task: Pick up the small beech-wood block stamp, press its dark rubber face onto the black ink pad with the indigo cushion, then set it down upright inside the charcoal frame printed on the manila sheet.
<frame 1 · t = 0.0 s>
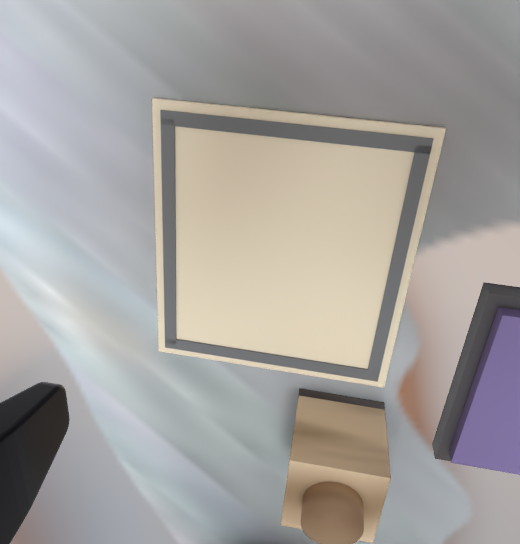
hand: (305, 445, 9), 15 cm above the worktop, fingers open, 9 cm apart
stamp: (335, 426, 28), on the worktop
print sheet: (280, 254, 23), on the worktop
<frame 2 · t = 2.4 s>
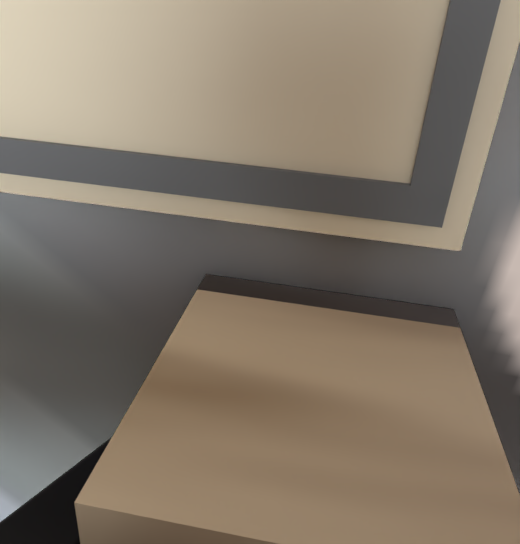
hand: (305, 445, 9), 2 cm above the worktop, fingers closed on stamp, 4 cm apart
stamp: (311, 387, 10), on the worktop, touching gripper
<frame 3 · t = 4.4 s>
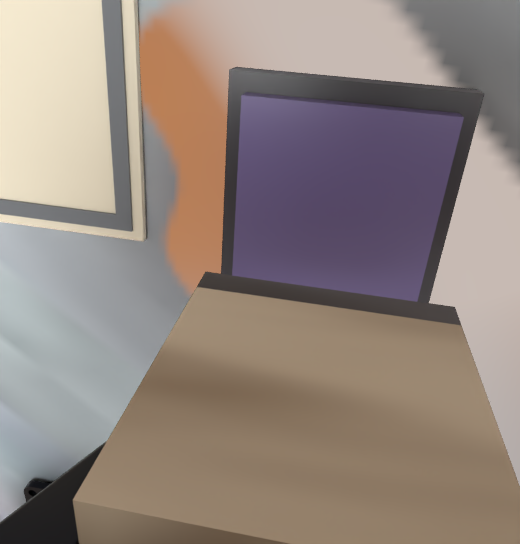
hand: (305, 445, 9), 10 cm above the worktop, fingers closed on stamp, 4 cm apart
ink pad: (331, 225, 18), on the worktop
stamp: (311, 386, 10), point 9 cm above the worktop, touching gripper
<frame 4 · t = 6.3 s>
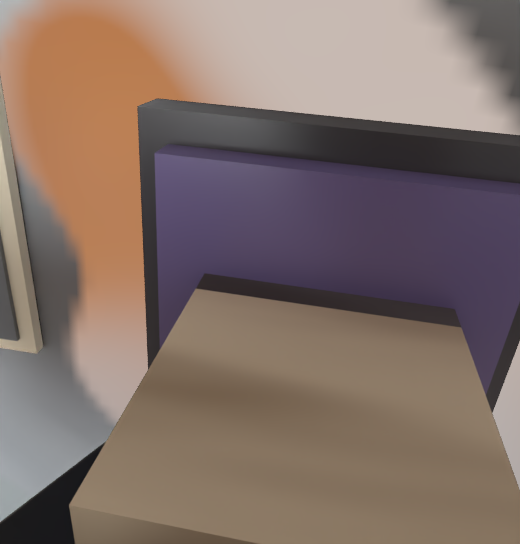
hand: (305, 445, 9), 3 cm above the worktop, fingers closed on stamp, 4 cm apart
ink pad: (318, 340, 11), on the worktop
stamp: (311, 387, 10), point 2 cm above the worktop, touching gripper, ink pad
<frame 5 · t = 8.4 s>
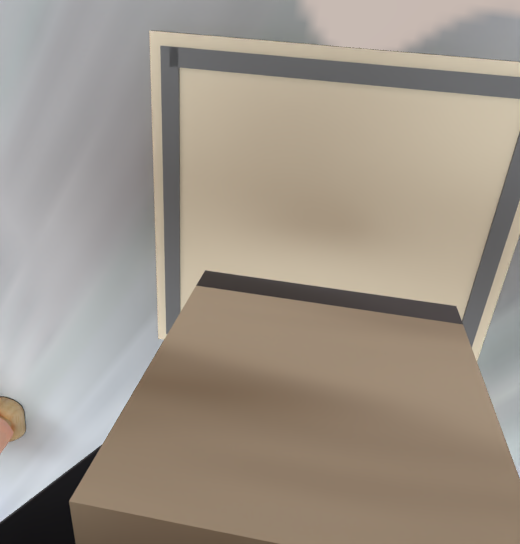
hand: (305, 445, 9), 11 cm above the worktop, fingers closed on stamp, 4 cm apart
stamp: (312, 385, 10), point 9 cm above the worktop, touching gripper
print sheet: (327, 226, 18), on the worktop
when the fingers open (3 cm above the worktop, at t = 10.1 s): stamp drops 1 cm, resting on print sheet.
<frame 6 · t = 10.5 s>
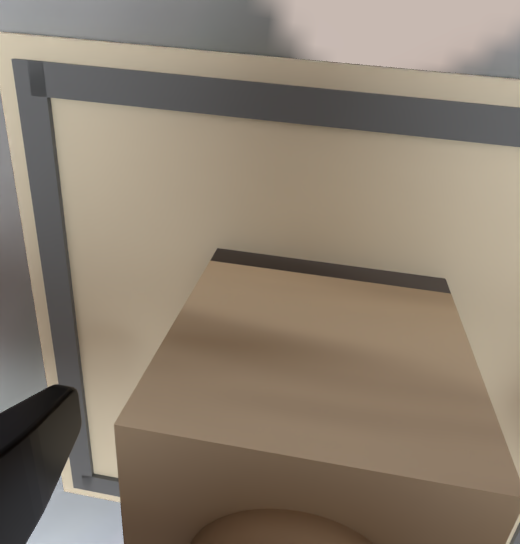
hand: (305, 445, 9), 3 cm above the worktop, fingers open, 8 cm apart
stamp: (314, 355, 11), resting on print sheet
print sheet: (313, 351, 11), on the worktop
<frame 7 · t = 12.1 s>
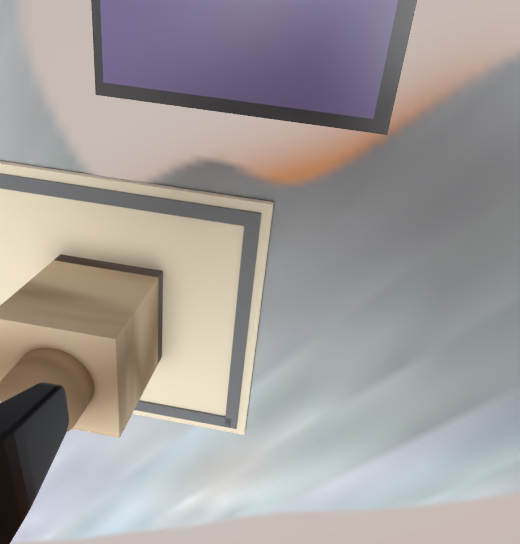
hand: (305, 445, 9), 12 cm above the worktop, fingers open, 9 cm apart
stamp: (113, 307, 22), resting on print sheet
print sheet: (115, 306, 22), on the worktop
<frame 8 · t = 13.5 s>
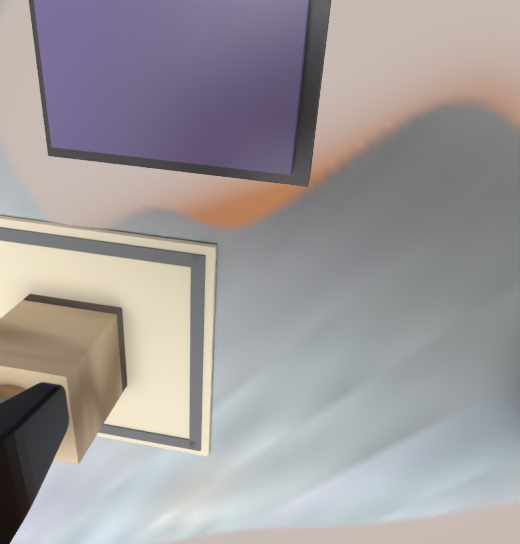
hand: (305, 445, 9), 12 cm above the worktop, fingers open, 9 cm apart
ink pad: (182, 59, 18), on the worktop
stamp: (80, 340, 24), resting on print sheet
print sheet: (83, 339, 24), on the worktop
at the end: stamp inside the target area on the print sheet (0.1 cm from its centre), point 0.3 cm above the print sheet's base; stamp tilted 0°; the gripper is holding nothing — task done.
